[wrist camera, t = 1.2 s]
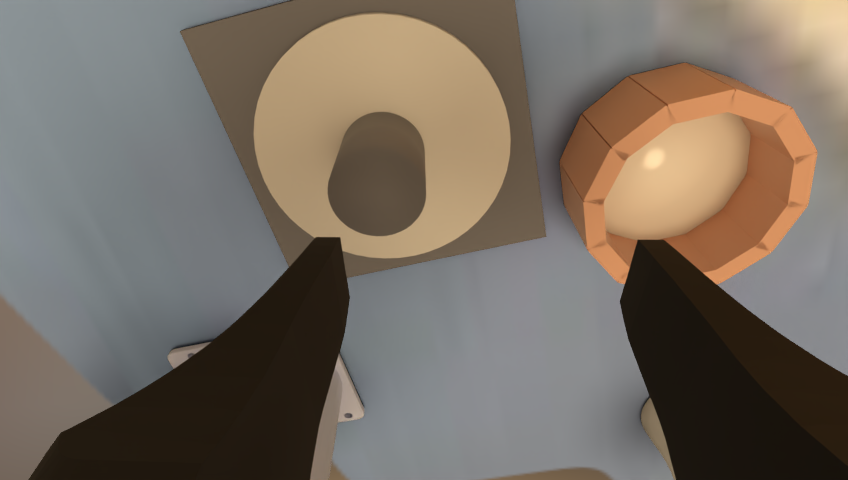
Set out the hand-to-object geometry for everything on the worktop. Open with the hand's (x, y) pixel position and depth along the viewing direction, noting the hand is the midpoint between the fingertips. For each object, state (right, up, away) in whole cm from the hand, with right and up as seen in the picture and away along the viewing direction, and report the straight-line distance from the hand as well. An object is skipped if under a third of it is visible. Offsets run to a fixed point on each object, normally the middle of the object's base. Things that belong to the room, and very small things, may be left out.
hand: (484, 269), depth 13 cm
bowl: (+9, +4, +11) cm, 15 cm away
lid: (-3, +5, +10) cm, 12 cm away
